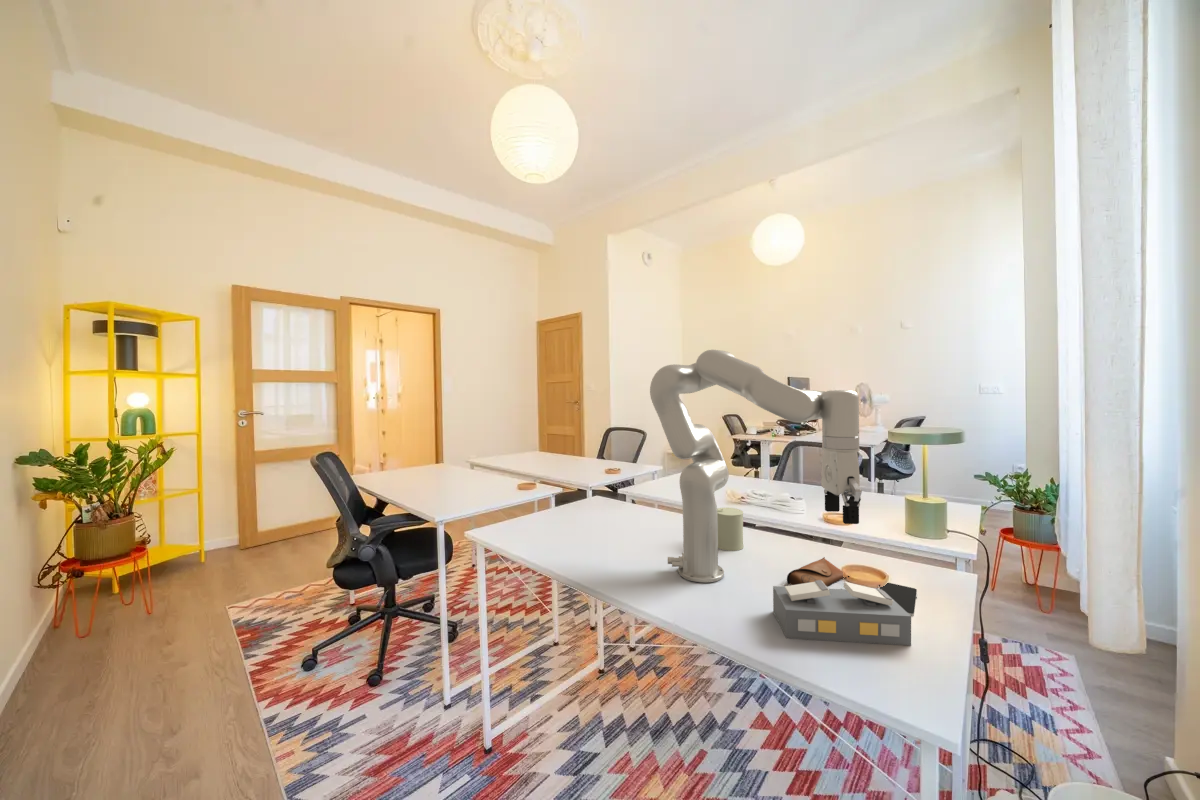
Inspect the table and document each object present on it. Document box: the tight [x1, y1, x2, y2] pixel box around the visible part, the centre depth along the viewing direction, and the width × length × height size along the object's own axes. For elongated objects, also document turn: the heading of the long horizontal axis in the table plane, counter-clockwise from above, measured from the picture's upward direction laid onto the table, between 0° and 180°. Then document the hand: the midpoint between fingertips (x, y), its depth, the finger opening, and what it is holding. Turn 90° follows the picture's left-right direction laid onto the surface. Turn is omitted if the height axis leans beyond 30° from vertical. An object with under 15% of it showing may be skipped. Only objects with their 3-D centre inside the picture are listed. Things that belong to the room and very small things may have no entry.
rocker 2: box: [843, 581, 893, 606], centre depth 95 cm, size 8×4×1 cm, turn 82°
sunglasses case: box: [786, 556, 845, 588], centre depth 120 cm, size 18×7×7 cm, turn 126°
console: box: [772, 585, 912, 647], centre depth 96 cm, size 24×11×7 cm, turn 82°
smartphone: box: [877, 582, 918, 617], centre depth 108 cm, size 8×1×15 cm
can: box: [717, 507, 744, 552], centre depth 146 cm, size 9×9×12 cm
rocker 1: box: [784, 580, 830, 601], centre depth 97 cm, size 8×4×1 cm, turn 81°
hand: (841, 517), depth 102 cm, fingers open, 9 cm apart
